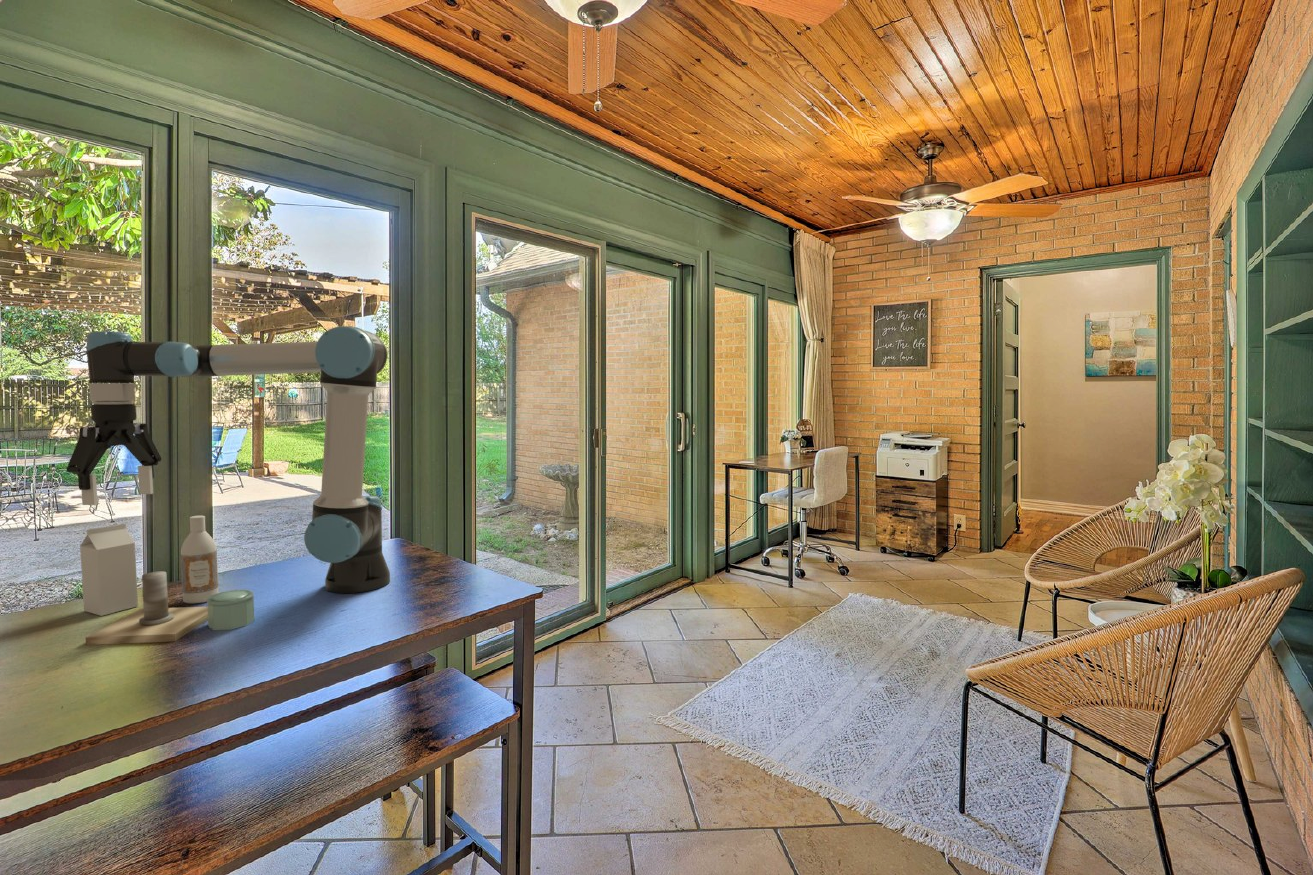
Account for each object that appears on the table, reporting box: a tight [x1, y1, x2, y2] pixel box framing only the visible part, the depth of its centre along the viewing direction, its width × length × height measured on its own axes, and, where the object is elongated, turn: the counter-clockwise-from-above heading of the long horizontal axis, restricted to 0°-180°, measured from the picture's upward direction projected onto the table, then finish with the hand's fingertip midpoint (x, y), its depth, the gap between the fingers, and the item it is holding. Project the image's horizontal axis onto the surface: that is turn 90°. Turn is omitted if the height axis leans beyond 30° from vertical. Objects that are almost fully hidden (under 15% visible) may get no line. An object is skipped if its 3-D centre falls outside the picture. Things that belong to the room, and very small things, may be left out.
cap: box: [206, 589, 255, 631], centre depth 135 cm, size 8×8×6 cm
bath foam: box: [180, 515, 220, 605], centre depth 149 cm, size 7×7×20 cm
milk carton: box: [79, 523, 139, 617], centre depth 142 cm, size 7×7×19 cm
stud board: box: [84, 570, 208, 646], centre depth 132 cm, size 16×16×12 cm
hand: (119, 499), depth 139 cm, fingers open, 13 cm apart
